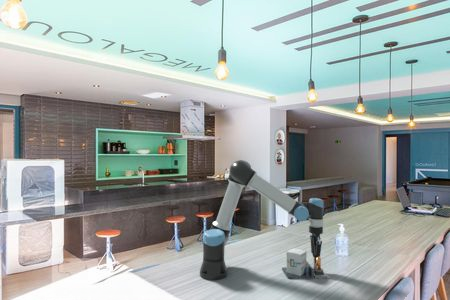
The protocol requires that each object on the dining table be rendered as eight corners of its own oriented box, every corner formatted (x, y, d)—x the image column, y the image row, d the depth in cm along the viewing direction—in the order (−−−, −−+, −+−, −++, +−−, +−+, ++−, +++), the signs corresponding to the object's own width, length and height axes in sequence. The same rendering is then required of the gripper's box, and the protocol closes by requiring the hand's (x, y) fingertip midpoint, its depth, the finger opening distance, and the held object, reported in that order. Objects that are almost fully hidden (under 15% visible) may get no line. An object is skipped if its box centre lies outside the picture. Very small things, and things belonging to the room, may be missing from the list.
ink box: (292, 267, 177) (292, 247, 177) (306, 271, 171) (306, 250, 172) (286, 272, 170) (286, 251, 170) (300, 276, 165) (300, 254, 165)
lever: (316, 275, 168) (316, 259, 168) (313, 272, 172) (313, 256, 172) (323, 275, 168) (323, 259, 168) (320, 272, 172) (320, 256, 172)
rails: (315, 278, 164) (315, 275, 164) (305, 267, 180) (306, 265, 180) (328, 278, 165) (328, 275, 165) (318, 267, 181) (318, 265, 181)
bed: (287, 278, 164) (287, 269, 164) (281, 269, 177) (281, 260, 177) (313, 278, 165) (313, 269, 165) (306, 269, 178) (306, 260, 178)
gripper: (305, 223, 181) (305, 263, 181) (313, 228, 168) (313, 272, 168) (318, 223, 181) (317, 263, 181) (326, 228, 168) (326, 271, 168)
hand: (315, 267), depth 174 cm, fingers closed
